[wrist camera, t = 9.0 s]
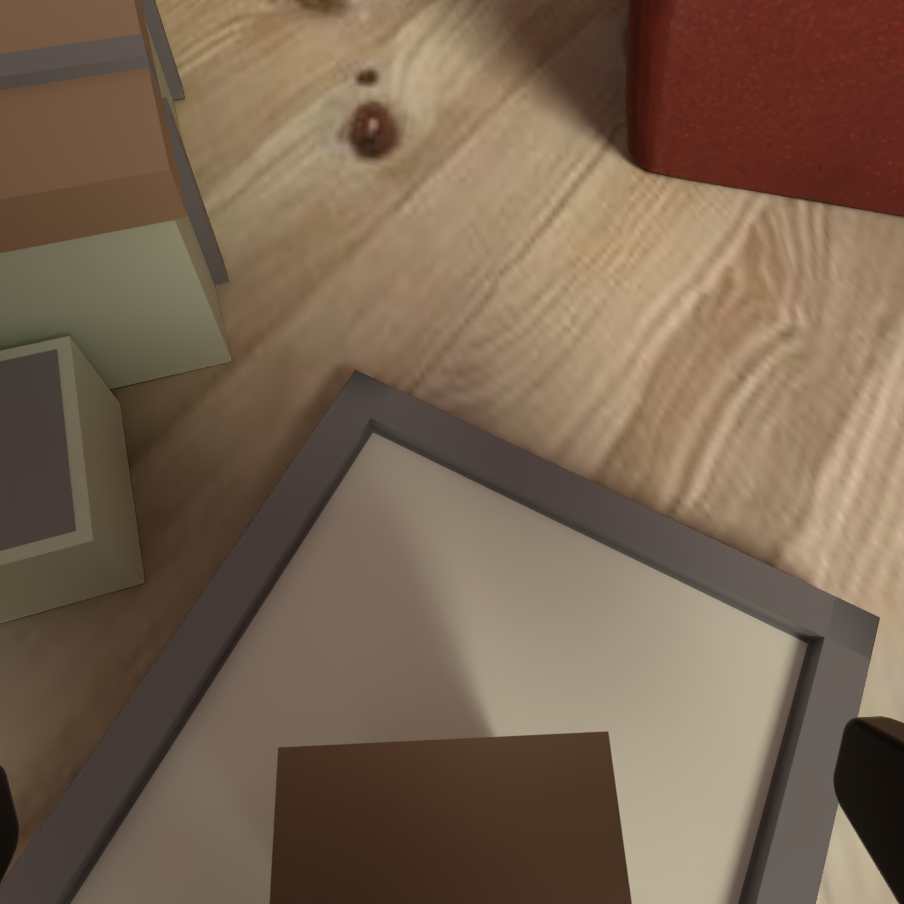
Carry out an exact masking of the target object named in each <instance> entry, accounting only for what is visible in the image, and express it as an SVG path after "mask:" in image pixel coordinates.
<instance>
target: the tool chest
mask: <svg viewBox="0 0 904 904" xmlns="http://www.w3.org/2000/svg"><path fill="white" fill-rule="evenodd" d="M182 98H185V96H184V92H183V87H182V83H181V80H180V77H179V74H178V71H177V68H176V65H175V61H174V58H173V55H172V52H171V49H170V46H169V43H168V40H167V36H166V33H165V30H164V27H163V24H162V21H161V18H160V14H159V11H158V8H157V5H156V2H155V0H0V624H1V623H4V622H8V621H11V620H15V619H18V618H22V617H25V616H29V615H33V614H36V613H40V612H43V611H47V610H50V609H54V608H57V607H61V606H65V605H68V604H72V603H75V602H79V601H82V600H86V599H89V598H93V597H97V596H100V595H104V594H107V593H111V592H114V591H118V590H122V589H125V588H129V587H132V586H136V585H139V584H143V583H145V577H144V570H143V563H142V556H141V548H140V541H139V534H138V527H137V520H136V513H135V506H134V499H133V492H132V485H131V478H130V471H129V464H128V457H127V450H126V443H125V436H124V429H123V422H122V415H121V408H120V403H119V402H118V400H117V399H116V397H115V396H114V395H113V393H112V392H111V391H110V389H114V388H118V387H122V386H127V385H131V384H136V383H140V382H144V381H149V380H153V379H157V378H162V377H166V376H170V375H175V374H179V373H183V372H188V371H192V370H196V369H201V368H205V367H210V366H214V365H218V364H223V363H227V362H231V361H232V358H231V354H230V350H229V345H228V341H227V336H226V332H225V328H224V323H223V319H222V314H221V310H220V305H219V301H218V297H217V292H216V288H215V284H218V283H223V282H228V277H227V273H226V269H225V265H224V261H223V258H222V255H221V253H220V250H219V247H218V244H217V241H216V238H215V235H214V232H213V229H212V227H211V224H210V221H209V218H208V215H207V212H206V209H205V206H204V203H203V201H202V198H201V195H200V192H199V189H198V186H197V183H196V180H195V177H194V175H193V172H192V169H191V166H190V163H189V160H188V157H187V154H186V151H185V149H184V146H183V142H182V137H181V133H180V129H179V124H178V120H177V115H176V111H175V106H174V102H173V100H175V99H182Z"/></svg>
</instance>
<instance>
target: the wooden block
mask: <svg viewBox="0 0 904 904" xmlns="http://www.w3.org/2000/svg"><path fill="white" fill-rule="evenodd" d="M270 904H632V901H631V893H630V886H629V879H628V872H627V864H626V857H625V850H624V842H623V835H622V828H621V820H620V813H619V806H618V798H617V791H616V784H615V776H614V769H613V762H612V755H611V747H610V740H609V733H608V731H604V732H583V733H563V734H543V735H522V736H502V737H482V738H461V739H441V740H420V741H400V742H380V743H359V744H339V745H318V746H298V747H278V758H277V776H276V794H275V813H274V831H273V849H272V867H271V885H270Z"/></svg>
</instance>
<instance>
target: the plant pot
mask: <svg viewBox="0 0 904 904" xmlns="http://www.w3.org/2000/svg"><path fill="white" fill-rule="evenodd" d="M626 114H627V134H628V146H629V151H630V154H631V155H632V157H633V158H634V159H635V161H636V162H637V164H639V165H640V166H642V167H644V168H646V169H647V170H649V171H651V172H655V173H659V174H663V175H668V176H674V177H679V178H685V179H690V180H696V181H703V182H709V183H713V184H718V185H724V186H730V187H736V188H742V189H748V190H754V191H760V192H766V193H772V194H778V195H784V196H790V197H796V198H802V199H808V200H814V201H820V202H826V203H832V204H838V205H844V206H849V207H855V208H860V209H865V210H871V211H876V212H882V213H888V214H894V215H900V216H904V0H629V14H628V34H627V66H626Z"/></svg>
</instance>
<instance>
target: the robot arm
mask: <svg viewBox="0 0 904 904" xmlns="http://www.w3.org/2000/svg"><path fill="white" fill-rule="evenodd" d="M833 786H834V791H835V795H836V797H837V800H838V802H839V804H840V806H841V808H842V810H843V811H844V813H845V815H846V816H847V818H848V820H849V821H850V823H851V825H852V826H853V828H854V830H855V831H856V833H857V835H858V836H859V838H860V840H861V841H862V843H863V845H864V846H865V848H866V850H867V851H868V853H869V855H870V856H871V858H872V860H873V861H874V863H875V865H876V866H877V868H878V870H879V871H880V873H881V875H882V876H883V878H884V880H885V882H886V883H887V885H888V887H889V888H890V890H891V892H892V893H893V895H894V897H895V898H896V900H897V902H898V903H899V904H904V723H902V722H900V721H897V720H894V719H891V718H887V717H882V716H878V717H859V718H852V719H851V720H849V721H848V722H847V723H846V724H845V726H844V729H843V733H842V738H841V742H840V747H839V751H838V755H837V760H836V764H835V769H834V774H833ZM18 837H19V824H18V818H17V815H16V811H15V807H14V803H13V799H12V795H11V791H10V787H9V783H8V779H7V775H6V773H5V770H4V769H3V767H2V766H0V883H1V881H2V879H3V877H4V875H5V873H6V871H7V869H8V866H9V864H10V862H11V860H12V858H13V855H14V853H15V850H16V847H17V843H18Z"/></svg>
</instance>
